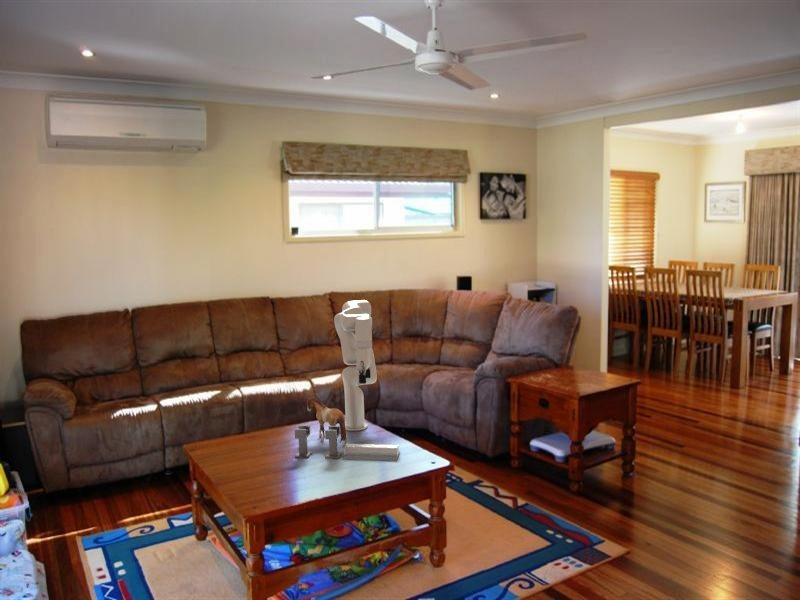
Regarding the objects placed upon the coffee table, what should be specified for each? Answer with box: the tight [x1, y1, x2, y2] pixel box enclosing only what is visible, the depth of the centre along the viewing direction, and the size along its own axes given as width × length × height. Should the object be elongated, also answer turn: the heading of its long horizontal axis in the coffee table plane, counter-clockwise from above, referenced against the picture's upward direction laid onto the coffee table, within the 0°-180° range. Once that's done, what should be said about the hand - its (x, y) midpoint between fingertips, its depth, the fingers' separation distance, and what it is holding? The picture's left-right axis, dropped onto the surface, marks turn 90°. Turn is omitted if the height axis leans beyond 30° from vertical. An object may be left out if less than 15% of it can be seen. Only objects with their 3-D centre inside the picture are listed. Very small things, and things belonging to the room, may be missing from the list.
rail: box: [343, 443, 400, 458], centre depth 300 cm, size 4×24×4 cm, turn 81°
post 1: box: [294, 424, 313, 459], centre depth 302 cm, size 7×6×13 cm
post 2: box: [324, 425, 343, 460], centre depth 300 cm, size 7×6×13 cm
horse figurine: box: [305, 396, 348, 447], centre depth 318 cm, size 31×8×21 cm, turn 39°
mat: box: [342, 451, 401, 461], centre depth 300 cm, size 10×24×1 cm, turn 81°
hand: (364, 380), depth 309 cm, fingers open, 9 cm apart
